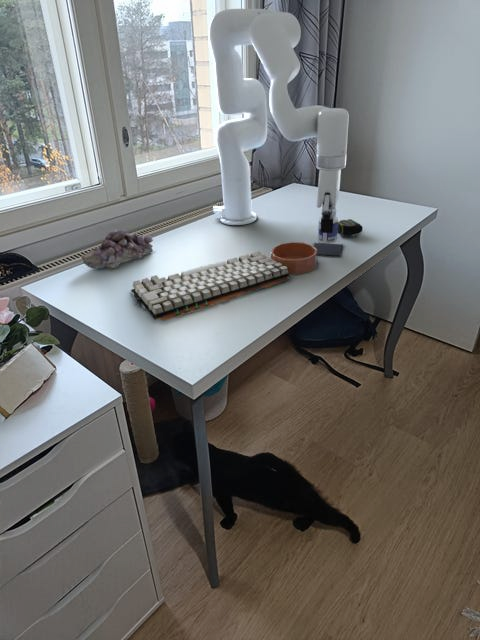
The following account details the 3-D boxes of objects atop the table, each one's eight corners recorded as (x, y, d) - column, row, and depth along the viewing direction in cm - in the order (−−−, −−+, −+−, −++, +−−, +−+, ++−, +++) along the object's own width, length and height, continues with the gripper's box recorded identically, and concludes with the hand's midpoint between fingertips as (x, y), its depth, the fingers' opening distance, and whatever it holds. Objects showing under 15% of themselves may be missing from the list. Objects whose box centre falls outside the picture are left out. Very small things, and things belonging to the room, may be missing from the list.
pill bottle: (339, 238, 128) (340, 207, 124) (334, 244, 124) (336, 213, 120) (320, 236, 130) (322, 206, 126) (315, 242, 126) (316, 211, 122)
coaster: (310, 254, 127) (310, 253, 126) (314, 244, 133) (314, 242, 133) (339, 256, 125) (339, 255, 124) (342, 245, 131) (342, 244, 131)
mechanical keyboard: (254, 255, 128) (254, 244, 126) (294, 279, 114) (294, 267, 112) (128, 293, 113) (125, 281, 111) (155, 327, 99) (152, 314, 97)
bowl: (267, 272, 119) (266, 258, 117) (276, 254, 128) (276, 241, 126) (312, 275, 116) (313, 261, 113) (319, 256, 125) (319, 243, 123)
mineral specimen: (131, 228, 137) (138, 210, 129) (153, 253, 138) (162, 237, 129) (77, 262, 126) (81, 245, 118) (101, 289, 127) (107, 273, 118)
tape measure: (363, 236, 136) (364, 224, 134) (342, 239, 135) (343, 227, 133) (351, 228, 142) (352, 217, 140) (332, 232, 140) (332, 220, 138)
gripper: (320, 154, 124) (318, 217, 133) (311, 169, 110) (309, 239, 120) (348, 154, 122) (344, 218, 131) (342, 169, 108) (338, 240, 117)
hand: (327, 228), depth 125 cm, fingers closed on pill bottle, 5 cm apart
